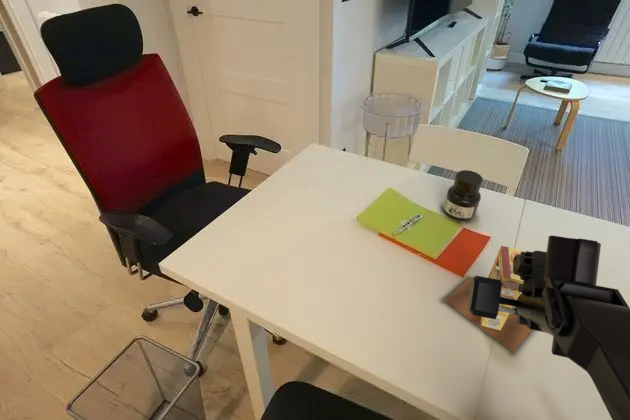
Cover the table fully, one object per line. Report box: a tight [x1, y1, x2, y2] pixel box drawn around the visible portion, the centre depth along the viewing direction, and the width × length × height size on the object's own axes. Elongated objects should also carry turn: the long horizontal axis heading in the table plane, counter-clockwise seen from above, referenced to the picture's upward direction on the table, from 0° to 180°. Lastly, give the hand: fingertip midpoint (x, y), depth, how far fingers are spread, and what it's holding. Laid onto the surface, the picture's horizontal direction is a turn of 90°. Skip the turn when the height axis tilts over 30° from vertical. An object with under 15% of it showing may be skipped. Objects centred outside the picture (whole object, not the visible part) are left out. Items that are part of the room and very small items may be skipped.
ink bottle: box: [442, 169, 484, 222], centre depth 103 cm, size 10×9×12 cm
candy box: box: [481, 245, 524, 331], centre depth 75 cm, size 9×4×15 cm, turn 161°
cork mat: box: [443, 277, 533, 353], centre depth 80 cm, size 16×10×1 cm, turn 40°
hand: (515, 300), depth 66 cm, fingers open, 9 cm apart
